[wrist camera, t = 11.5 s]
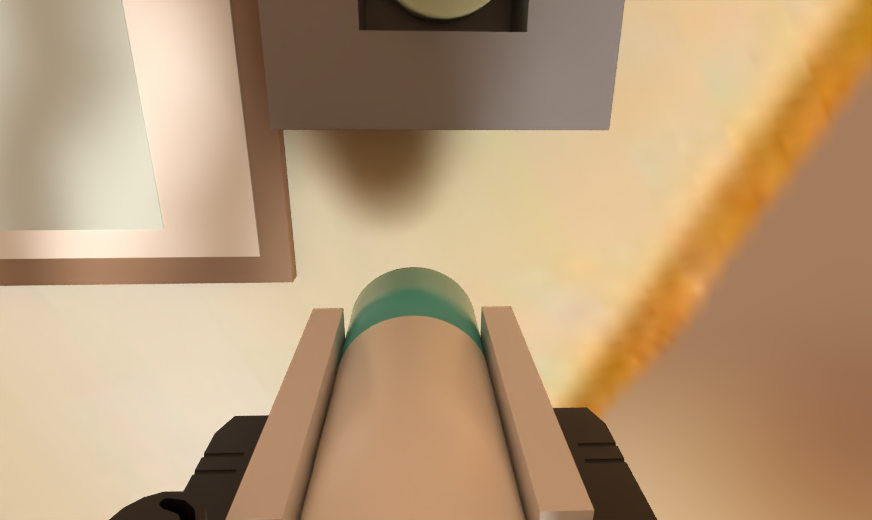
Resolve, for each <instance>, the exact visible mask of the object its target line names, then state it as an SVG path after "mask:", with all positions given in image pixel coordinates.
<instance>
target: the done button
mask: <svg viewBox="0 0 872 520" xmlns="http://www.w3.org/2000/svg"><path fill="white" fill-rule="evenodd" d="M393 1H394V2H395V3H396V4H397V5H398V6H399V7H400V8H401V9H403V10H404V11H405V12H407V13H408V14H410V15H412V16H413V17H415V18H418V19H421V20H423V21H427V22H432V23H450V22H455V21H458V20H461V19H464V18H466V17H468V16H470V15H472V14H474V13H475V12H476V11H478V10H479V9H481V8H482V7H483V6H484V5H485V4H487V3H488V2H489V1H490V0H393Z"/></svg>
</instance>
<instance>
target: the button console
mask: <svg viewBox="0 0 872 520" xmlns="http://www.w3.org/2000/svg"><path fill="white" fill-rule="evenodd" d="M624 2H625V0H490V1H489V2H488V3H487V4H485V5H484V6H483V7H482V8H481V9H479V10H478V11H476V12H475V13H474V14H472V15H470V16H468V17H466V18H464V19H461V20H458V21H455V22H450V23H432V22H427V21H423V20H421V19H418V18H415V17H413V16H412V15H410V14H408V13H407V12H405V11H404V10H403V9H401V8H400V7H399V6H398V5H397V4H396V3H395V2H394V1H393V0H258V8H259V18H260V28H261V38H262V48H263V57H264V67H265V77H266V87H267V97H268V106H269V116H270V126H271V130H609V126H610V118H611V110H612V102H613V93H614V85H615V77H616V68H617V60H618V52H619V44H620V35H621V27H622V19H623V10H624Z"/></svg>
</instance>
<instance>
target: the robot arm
mask: <svg viewBox="0 0 872 520" xmlns="http://www.w3.org/2000/svg"><path fill="white" fill-rule="evenodd" d="M481 342H482V346H483V350H484V354H485V358H486V362H487V366H488V370H489V374H490V378H491V382H492V386H493V390H494V394H495V398H496V402H497V406H498V410H499V414H500V418H501V422H502V426H503V430H504V434H505V438H506V442H507V446H508V450H509V454H510V458H511V462H512V466H513V470H514V474H515V478H516V482H517V486H518V490H519V494H520V498H521V502H522V506H523V510H524V515H525V519H526V520H657V518H656V517H655V515H654V513H653V511H652V509H651V507H650V505H649V504H648V502H647V500H646V498H645V496H644V494H643V493H642V491H641V489H640V487H639V485H638V483H637V482H636V480H635V478H634V476H633V474H632V472H631V470H630V468H629V467H628V465H627V463H626V462H624V457H623V455H622V454H621V452H620V450H619V448H618V446H616V444H615V441H614V439H613V437H612V435H611V433H610V431H609V429H608V428H607V426H606V424H605V423H604V422H603V421H602V420H601V419H599V418H598V417H597V416H596V415H595V414H594V413H592V412H591V411H590V410H589V409H588V408H552V406H551V403H550V401H549V398H548V396H547V393H546V391H545V388H544V386H543V384H542V381H541V379H540V376H539V374H538V371H537V369H536V366H535V364H534V361H533V359H532V357H531V354H530V352H529V349H528V347H527V344H526V342H525V339H524V337H523V335H522V332H521V330H520V327H519V325H518V322H517V320H516V317H515V315H514V313H513V310H512V308H511V306H506V307H482V314H481ZM344 343H345V328H344V312H343V308H329V309H313V311H312V313H311V315H310V318H309V320H308V323H307V325H306V327H305V330H304V332H303V335H302V337H301V339H300V342H299V344H298V347H297V349H296V351H295V354H294V356H293V359H292V361H291V363H290V366H289V368H288V371H287V373H286V376H285V378H284V380H283V383H282V385H281V388H280V390H279V392H278V395H277V397H276V400H275V402H274V404H273V407H272V409H271V412H270V414H269V415H266V416H234V417H233V418H232V419H231V420H230V421H229V422H227V423H226V424H225V425H224V426H223V427H222V428H221V429H219V430H218V431H217V432H216V433H215V434H214V436H213V438H212V440H211V442H210V444H209V445H208V447H207V449H206V451H205V453H204V457H202V458H201V460H200V462H199V464H198V466H197V468H196V469H195V474H194V475H192V477H191V479H190V480H189V482H188V484H187V486H186V488H185V490H184V491H182V492H162V493H158V494H154V495H151V496H147V497H144V498H142V499H140V500H138V501H136V502H134V503H132V504H130V505H128V506H126V507H124V508H123V509H122V510H120V511H119V512H118V513H117V514H116V515H114V516H113V517H112V518H111V519H110V520H300V517H301V513H302V509H303V505H304V501H305V497H306V493H307V489H308V485H309V481H310V477H311V473H312V469H313V466H314V462H315V458H316V454H317V450H318V446H319V442H320V438H321V434H322V430H323V426H324V422H325V418H326V414H327V410H328V406H329V402H330V398H331V394H332V390H333V386H334V382H335V378H336V374H337V370H338V366H339V362H340V358H341V354H342V350H343V347H344Z"/></svg>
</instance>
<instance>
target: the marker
mask: <svg viewBox="0 0 872 520" xmlns="http://www.w3.org/2000/svg"><path fill="white" fill-rule="evenodd" d="M300 520H526V519H525V515H524V510H523V506H522V502H521V498H520V494H519V490H518V486H517V482H516V478H515V474H514V470H513V466H512V462H511V458H510V454H509V450H508V446H507V442H506V438H505V434H504V430H503V426H502V422H501V418H500V414H499V410H498V406H497V402H496V398H495V394H494V390H493V386H492V382H491V378H490V374H489V370H488V366H487V362H486V358H485V354H484V350H483V346H482V342H481V338H480V334H479V330H478V326H477V322H476V318H475V314H474V310H473V307H472V304H471V302H470V300H469V298H468V296H467V294H466V293H465V292H464V290H463V289H462V288H461V287H460V286H459V285H458V284H457V283H456V282H455V281H453V280H452V279H451V278H449V277H447V276H446V275H444V274H442V273H440V272H437V271H434V270H431V269H426V268H418V267H409V268H401V269H396V270H393V271H390V272H387V273H385V274H383V275H381V276H379V277H378V278H376V279H375V280H373V281H372V282H371V283H370V284H368V285H367V286H366V288H365V289H364V290H363V291H362V292H361V294H360V295H359V297H358V298H357V300H356V302H355V305H354V308H353V311H352V315H351V319H350V323H349V327H348V331H347V335H346V339H345V343H344V347H343V350H342V354H341V358H340V362H339V366H338V370H337V374H336V378H335V382H334V386H333V390H332V394H331V398H330V402H329V406H328V410H327V414H326V418H325V422H324V426H323V430H322V434H321V438H320V442H319V446H318V450H317V454H316V458H315V462H314V466H313V469H312V473H311V477H310V481H309V485H308V489H307V493H306V497H305V501H304V505H303V509H302V513H301V517H300Z"/></svg>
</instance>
